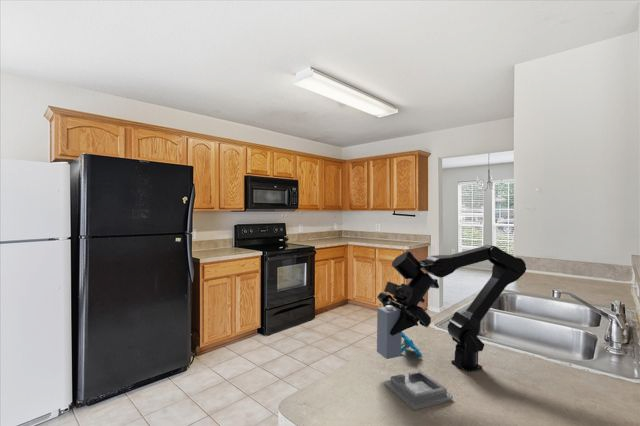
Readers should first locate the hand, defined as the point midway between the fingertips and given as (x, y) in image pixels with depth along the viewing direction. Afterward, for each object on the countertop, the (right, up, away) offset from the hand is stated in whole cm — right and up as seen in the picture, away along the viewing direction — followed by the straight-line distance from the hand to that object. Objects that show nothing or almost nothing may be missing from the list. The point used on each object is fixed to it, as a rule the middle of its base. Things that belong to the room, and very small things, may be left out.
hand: (385, 331), depth 91 cm
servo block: (+1, -7, +1) cm, 7 cm away
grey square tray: (+7, -13, -8) cm, 17 cm away
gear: (+11, -13, +15) cm, 23 cm away
